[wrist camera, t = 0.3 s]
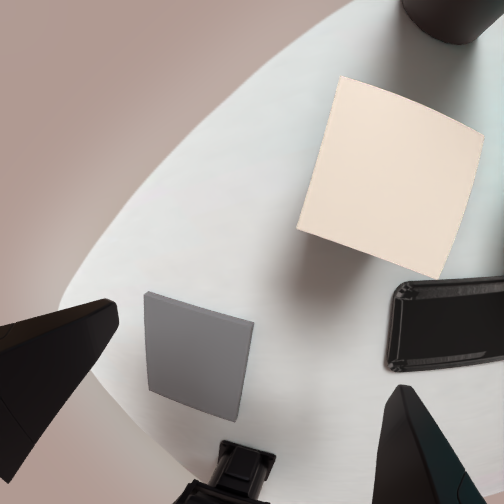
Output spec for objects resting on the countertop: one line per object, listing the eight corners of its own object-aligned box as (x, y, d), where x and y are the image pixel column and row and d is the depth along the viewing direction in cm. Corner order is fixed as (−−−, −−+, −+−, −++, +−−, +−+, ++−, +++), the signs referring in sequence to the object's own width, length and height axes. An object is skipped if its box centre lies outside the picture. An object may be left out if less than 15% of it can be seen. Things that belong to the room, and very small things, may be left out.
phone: (396, 285, 20) (548, 275, 15) (393, 279, 21) (542, 271, 16) (386, 373, 22) (527, 356, 17) (384, 366, 23) (522, 350, 18)
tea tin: (392, 226, 19) (437, 280, 10) (315, 199, 20) (296, 228, 11) (416, 149, 17) (484, 135, 8) (338, 120, 18) (340, 75, 9)
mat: (237, 417, 28) (234, 422, 27) (152, 385, 30) (148, 389, 29) (254, 322, 24) (251, 327, 23) (148, 291, 26) (143, 294, 26)
